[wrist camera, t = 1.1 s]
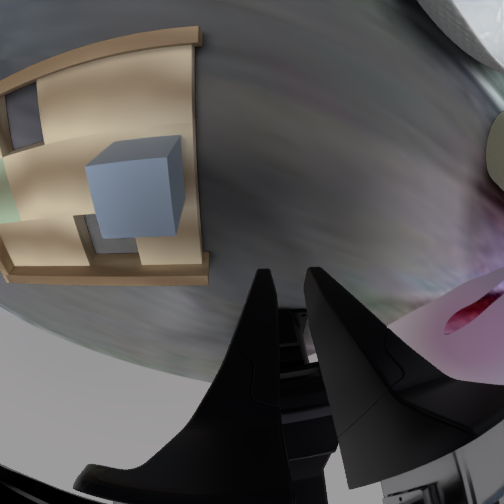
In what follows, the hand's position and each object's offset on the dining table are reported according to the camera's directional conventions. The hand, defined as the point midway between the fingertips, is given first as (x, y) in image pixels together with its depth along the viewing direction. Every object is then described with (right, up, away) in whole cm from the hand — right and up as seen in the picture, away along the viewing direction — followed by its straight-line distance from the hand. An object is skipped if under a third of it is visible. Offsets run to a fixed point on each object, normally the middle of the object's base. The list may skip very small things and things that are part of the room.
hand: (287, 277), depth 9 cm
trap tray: (-15, +7, +8) cm, 18 cm away
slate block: (-8, +6, +8) cm, 13 cm away
